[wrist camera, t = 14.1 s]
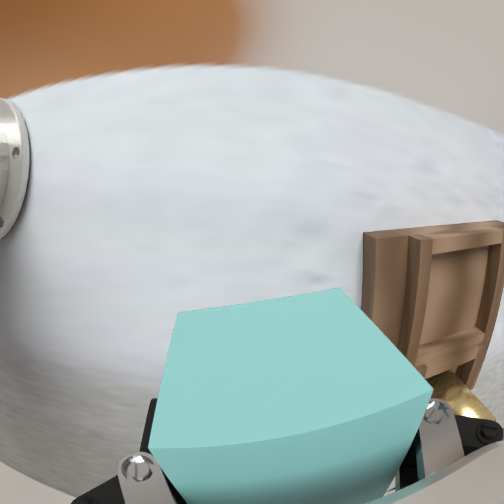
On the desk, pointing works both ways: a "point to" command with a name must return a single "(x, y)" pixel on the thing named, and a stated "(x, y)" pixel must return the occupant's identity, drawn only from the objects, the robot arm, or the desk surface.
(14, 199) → the robot arm
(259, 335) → the block
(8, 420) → the desk surface
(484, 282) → the organizer
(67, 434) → the desk surface
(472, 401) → the peg
